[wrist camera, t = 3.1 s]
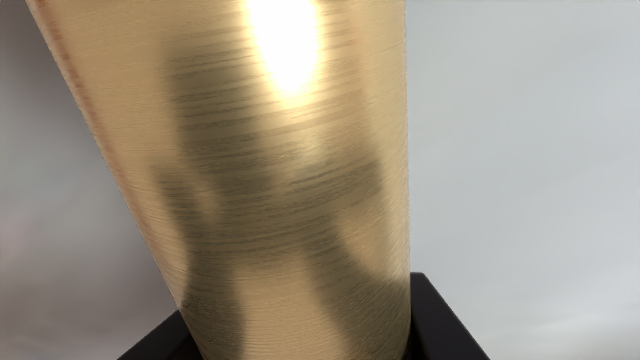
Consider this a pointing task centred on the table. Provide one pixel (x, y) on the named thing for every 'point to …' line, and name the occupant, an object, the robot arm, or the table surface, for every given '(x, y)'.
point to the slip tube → (256, 162)
